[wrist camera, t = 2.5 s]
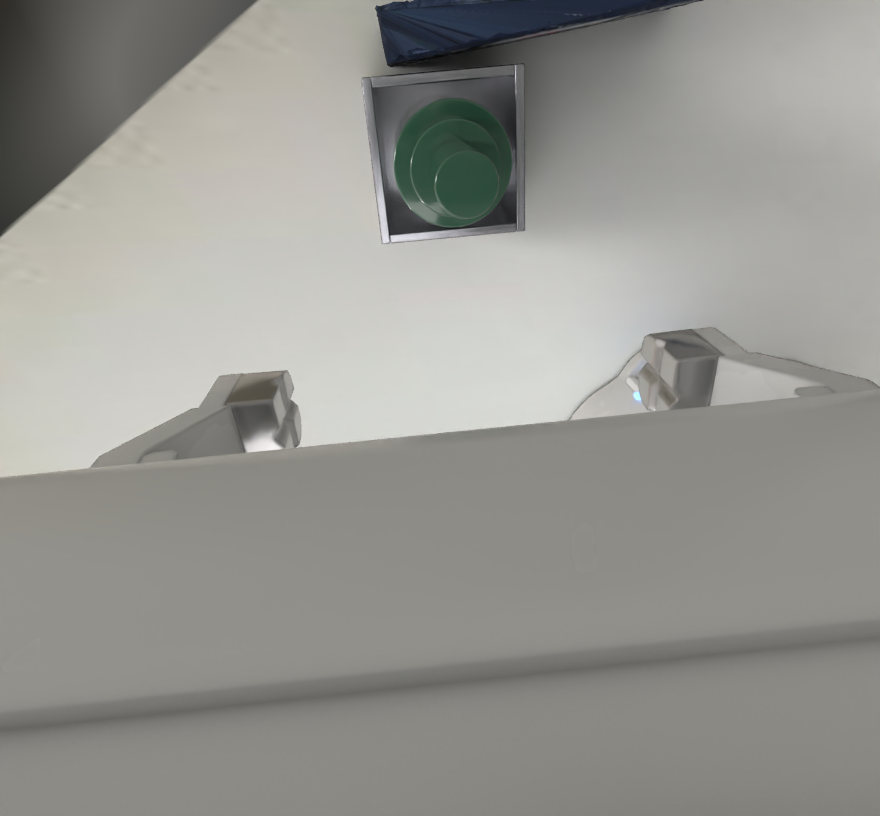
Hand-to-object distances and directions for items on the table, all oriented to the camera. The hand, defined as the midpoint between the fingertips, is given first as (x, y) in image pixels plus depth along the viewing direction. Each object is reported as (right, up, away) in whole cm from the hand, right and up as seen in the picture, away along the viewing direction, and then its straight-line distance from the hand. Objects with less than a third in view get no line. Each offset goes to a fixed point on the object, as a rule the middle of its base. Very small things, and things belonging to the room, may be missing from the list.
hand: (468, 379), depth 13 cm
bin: (-1, +17, +25) cm, 30 cm away
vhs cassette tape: (+5, +24, +22) cm, 33 cm away
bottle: (-1, +17, +25) cm, 30 cm away
